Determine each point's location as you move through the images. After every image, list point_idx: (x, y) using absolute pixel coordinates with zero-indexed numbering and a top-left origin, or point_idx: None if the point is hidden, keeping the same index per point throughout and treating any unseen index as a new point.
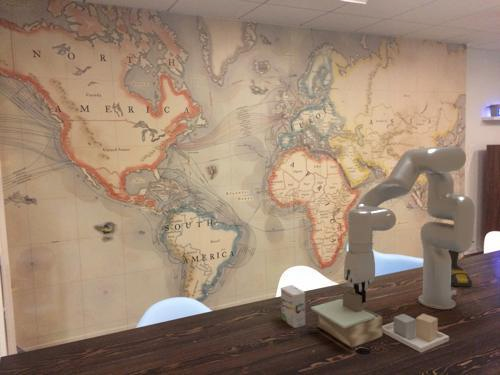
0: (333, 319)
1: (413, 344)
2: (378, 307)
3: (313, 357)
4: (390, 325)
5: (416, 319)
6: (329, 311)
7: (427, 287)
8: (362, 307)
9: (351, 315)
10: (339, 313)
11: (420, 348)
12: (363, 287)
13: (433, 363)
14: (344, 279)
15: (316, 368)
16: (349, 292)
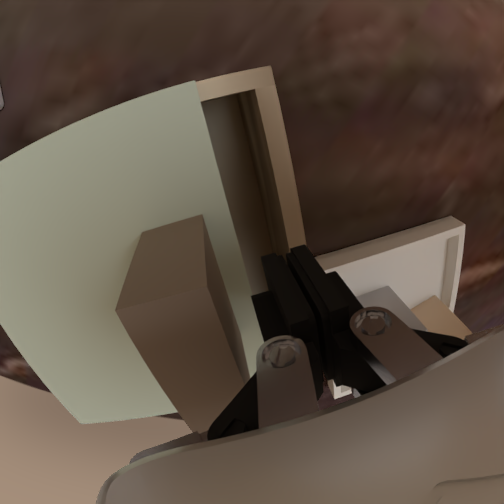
0: (40, 374)
1: (333, 383)
2: (454, 50)
3: (9, 339)
4: (374, 261)
5: None
6: (25, 293)
7: None
8: (302, 238)
9: (144, 368)
10: (79, 331)
11: (333, 395)
12: (359, 388)
13: (322, 409)
14: (105, 483)
15: (18, 377)
16: (181, 354)
